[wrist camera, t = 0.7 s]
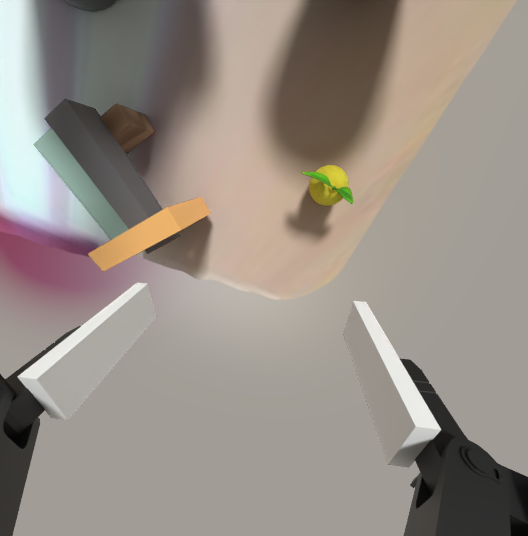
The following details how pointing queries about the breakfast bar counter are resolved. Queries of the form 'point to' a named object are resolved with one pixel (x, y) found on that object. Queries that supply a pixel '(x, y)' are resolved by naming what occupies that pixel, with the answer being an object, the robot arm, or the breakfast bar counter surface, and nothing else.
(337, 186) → the lemon
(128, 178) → the grey rectangular bar
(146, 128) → the cradle
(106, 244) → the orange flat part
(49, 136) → the mat
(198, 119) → the breakfast bar counter surface
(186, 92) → the breakfast bar counter surface
